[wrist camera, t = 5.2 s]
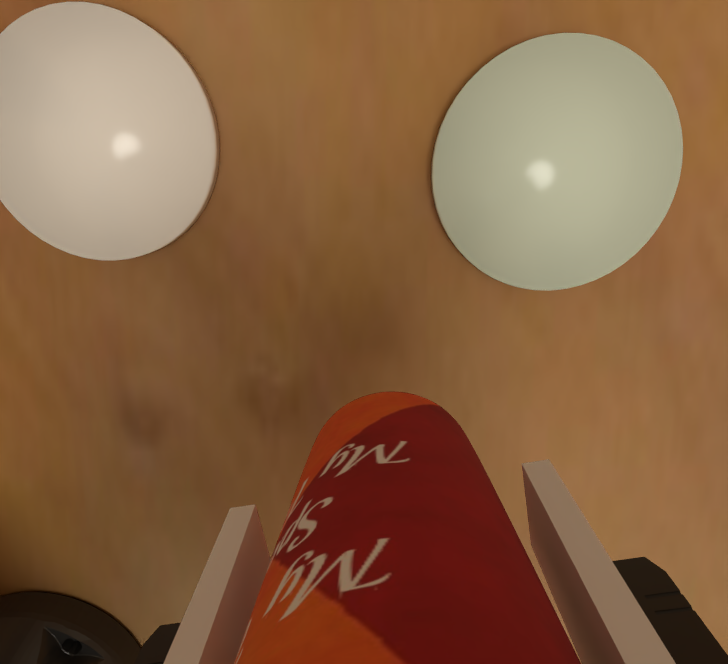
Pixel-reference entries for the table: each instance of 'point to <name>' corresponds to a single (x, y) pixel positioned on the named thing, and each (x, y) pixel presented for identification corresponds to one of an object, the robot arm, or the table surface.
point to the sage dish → (557, 161)
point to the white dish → (102, 132)
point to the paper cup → (399, 553)
